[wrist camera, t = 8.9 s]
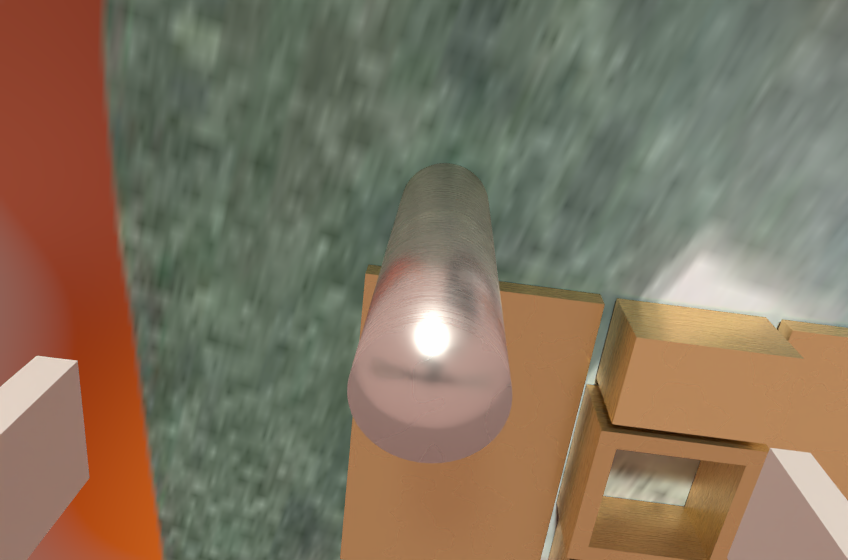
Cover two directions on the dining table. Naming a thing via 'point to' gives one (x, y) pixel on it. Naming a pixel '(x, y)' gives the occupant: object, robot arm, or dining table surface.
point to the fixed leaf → (544, 465)
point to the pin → (435, 327)
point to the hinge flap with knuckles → (730, 379)
